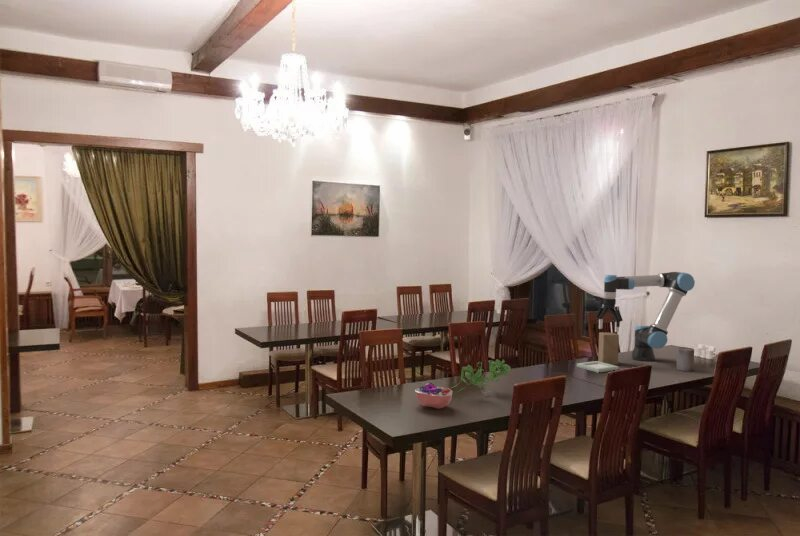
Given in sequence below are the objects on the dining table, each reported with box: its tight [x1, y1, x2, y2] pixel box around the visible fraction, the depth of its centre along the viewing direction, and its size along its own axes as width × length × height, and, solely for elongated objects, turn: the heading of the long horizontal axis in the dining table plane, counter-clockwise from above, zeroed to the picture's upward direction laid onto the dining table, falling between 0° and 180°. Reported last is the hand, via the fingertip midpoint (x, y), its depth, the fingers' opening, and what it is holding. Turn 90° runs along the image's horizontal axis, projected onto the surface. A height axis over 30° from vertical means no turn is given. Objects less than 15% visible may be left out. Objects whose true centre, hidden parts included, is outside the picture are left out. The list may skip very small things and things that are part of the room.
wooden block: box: [597, 331, 620, 366], centre depth 388 cm, size 10×10×20 cm
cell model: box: [414, 382, 454, 410], centre depth 283 cm, size 17×20×11 cm
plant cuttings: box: [450, 359, 512, 396], centre depth 308 cm, size 35×17×22 cm
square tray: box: [576, 360, 620, 374], centre depth 373 cm, size 18×18×2 cm
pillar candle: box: [676, 346, 695, 372], centre depth 371 cm, size 10×10×15 cm
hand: (608, 330), depth 387 cm, fingers open, 13 cm apart
